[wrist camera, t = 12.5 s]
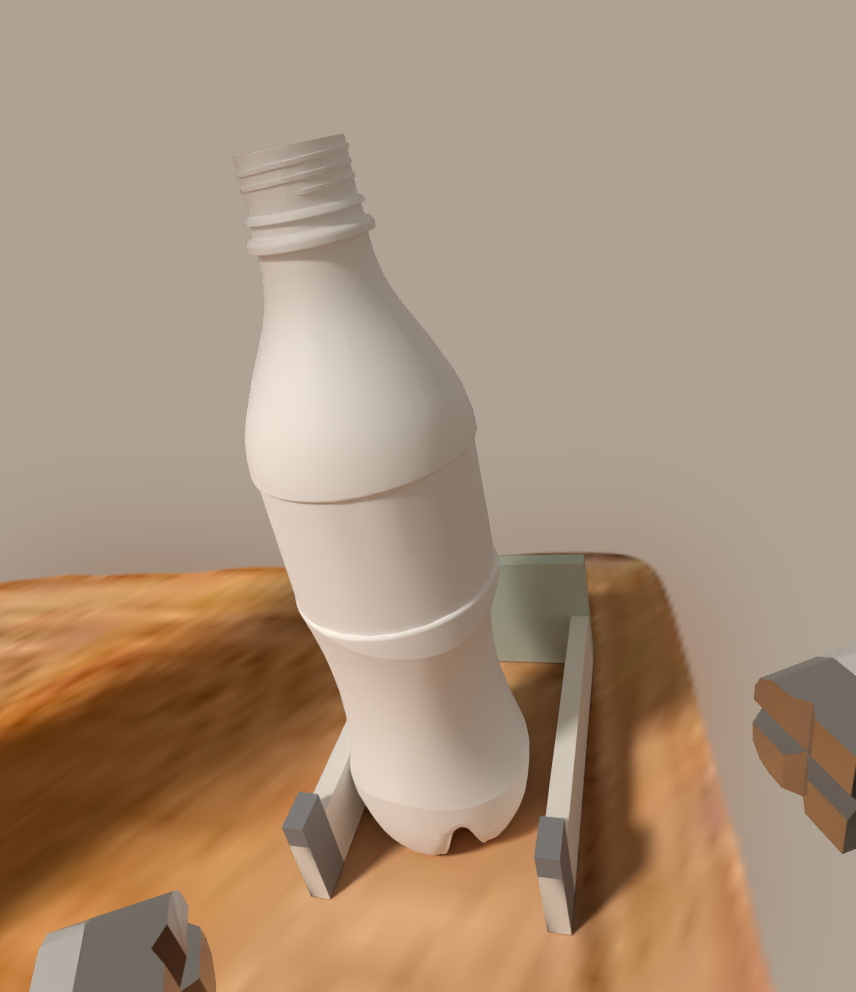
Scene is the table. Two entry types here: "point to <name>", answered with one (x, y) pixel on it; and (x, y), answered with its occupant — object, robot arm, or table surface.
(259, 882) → the table surface
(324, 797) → the bay
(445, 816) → the water bottle
